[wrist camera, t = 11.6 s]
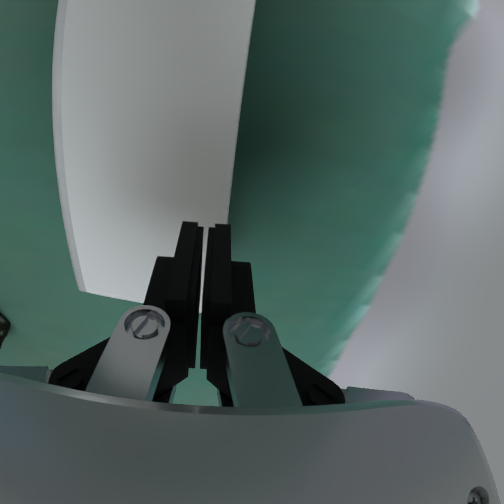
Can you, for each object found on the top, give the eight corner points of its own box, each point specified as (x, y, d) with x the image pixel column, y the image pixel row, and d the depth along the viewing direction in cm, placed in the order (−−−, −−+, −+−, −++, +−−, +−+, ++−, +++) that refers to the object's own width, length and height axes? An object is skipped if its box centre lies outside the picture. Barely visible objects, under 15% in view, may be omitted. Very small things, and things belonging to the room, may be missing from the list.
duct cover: (98, -120, 5) (90, -126, 4) (281, -136, 5) (282, -146, 4) (82, 279, 18) (75, 289, 17) (220, 302, 18) (217, 315, 17)
